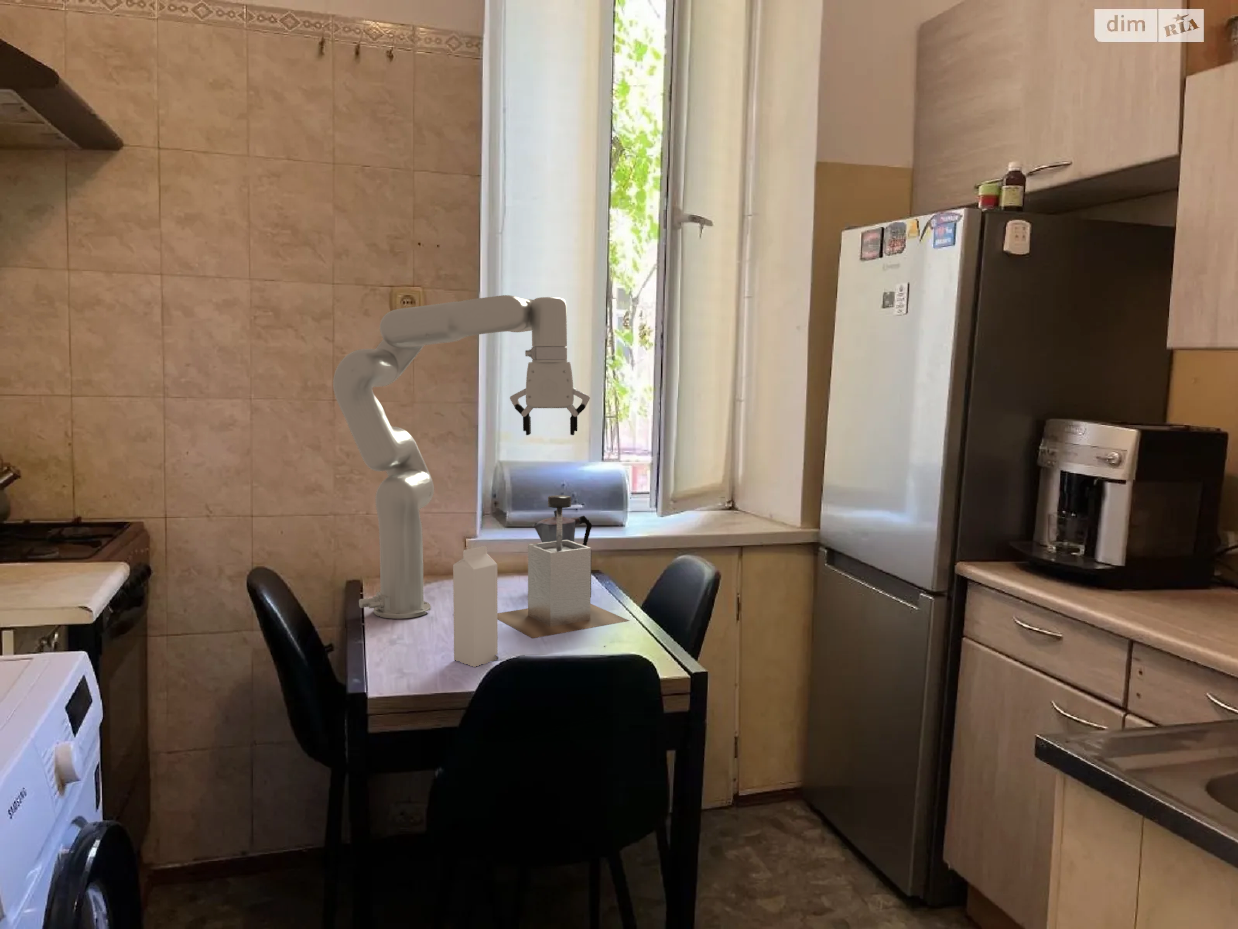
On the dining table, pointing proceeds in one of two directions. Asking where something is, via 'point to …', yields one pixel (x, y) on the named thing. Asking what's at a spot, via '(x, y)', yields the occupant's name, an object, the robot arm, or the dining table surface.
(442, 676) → the dining table surface
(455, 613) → the milk
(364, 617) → the dining table surface
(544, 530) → the moka pot
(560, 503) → the plunger
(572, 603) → the open box
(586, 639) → the dining table surface
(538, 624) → the walnut board
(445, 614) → the dining table surface
